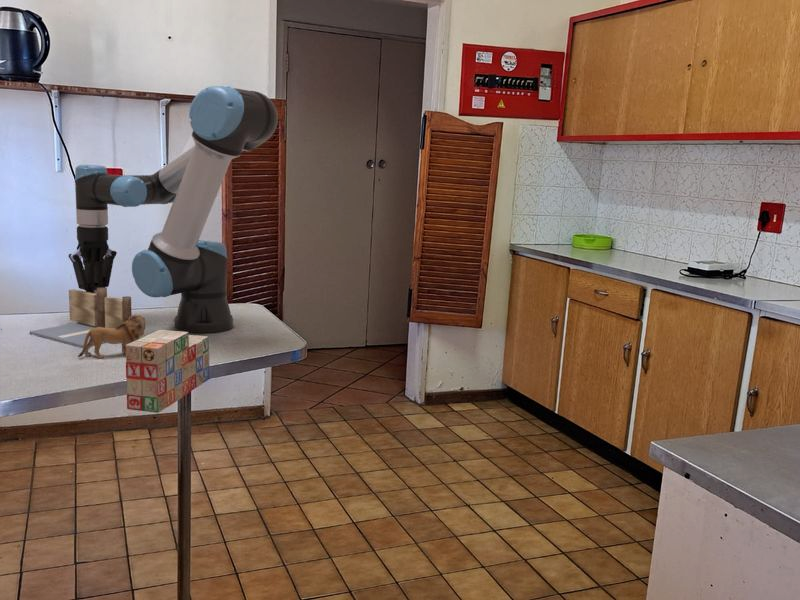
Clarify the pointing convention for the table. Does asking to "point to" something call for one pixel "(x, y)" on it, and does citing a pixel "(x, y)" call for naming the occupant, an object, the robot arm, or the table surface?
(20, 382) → the table surface
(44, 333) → the card
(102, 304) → the fence post and fixed section
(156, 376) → the stack of blocks
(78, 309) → the hinged fence panel
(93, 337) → the lion figurine
